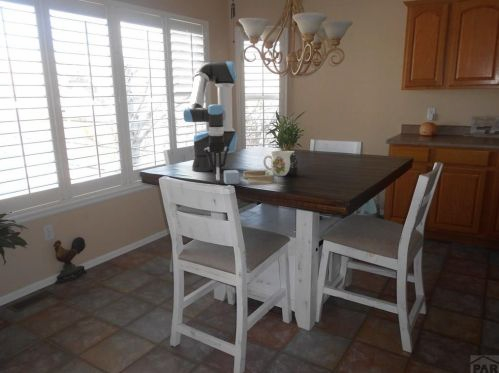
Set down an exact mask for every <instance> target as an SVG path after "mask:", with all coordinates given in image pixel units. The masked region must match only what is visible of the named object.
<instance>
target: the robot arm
mask: <svg viewBox="0 0 499 373" xmlns="http://www.w3.org/2000/svg"><path fill="white" fill-rule="evenodd" d="M237 80H238V79H237V71H236V65H235V63H234V62H233V61H227V60H224V61H220V60H219V61H206V62H203V63H202V64H200V65H199V66H198V67H197V68H196V69H195V71H194V73H193V76H192V81H193V85H192V90H191V96H190V101H189V105H188V107H185V108H184V109H183V120H184V122H185V123H208V131H202V132H196V133H194V135H193V152H194V153H193V154H194V158H193V162H192V165H191V169H192V171H194V172H203V173H204V172H212V171H213V173H214V174H215V180H216V181H221V179H220V177H221V176H220V175H221V174H222V167H225V165H226V161H227V157H228V154H229V153H235V151H236V149H237V145H238V134H237V133H236V131H235V129H234V128H233V87H234V86H235V83H236V82H237ZM210 83H214V86H215V87H216V89H217V104H209V105H208V106H207V107H204V105H205V98H206V92H207V87H208V85H209V84H210ZM222 153H223V157H222ZM217 161H218V162H217ZM217 163H218V166H217Z"/></svg>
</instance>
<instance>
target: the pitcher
mask: <svg viewBox="0 0 499 373" xmlns="http://www.w3.org/2000/svg"><path fill="white" fill-rule="evenodd" d="M294 153H295V151H293V150H275V151H271V155H265V156H264V159H263V166H264V168H266V170H267V171H272V172H273V173H272V174H273V175H274V176H276V177H277V176H278V177H283V176H287V174H289V171H290V168H291V159H290V158H291V156H292V154H294ZM267 158H269V159H270V166H271V167H269V166H268V165H267V163H266V160H267Z"/></svg>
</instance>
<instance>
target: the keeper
mask: <svg viewBox="0 0 499 373" xmlns="http://www.w3.org/2000/svg"><path fill="white" fill-rule="evenodd" d="M223 183H224V184H226V185H236V184H237V185H238V184H240V171H238V170H237V169H233V170H232V169H228V170H223Z"/></svg>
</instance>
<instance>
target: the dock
mask: <svg viewBox="0 0 499 373" xmlns="http://www.w3.org/2000/svg"><path fill="white" fill-rule="evenodd" d="M242 174H243V175H242V179H243V180H248V185H260V184H261V185H264V184H274V183H275V174H274V173H272V172H270V170H268V169H260V170H244V171H242Z"/></svg>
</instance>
